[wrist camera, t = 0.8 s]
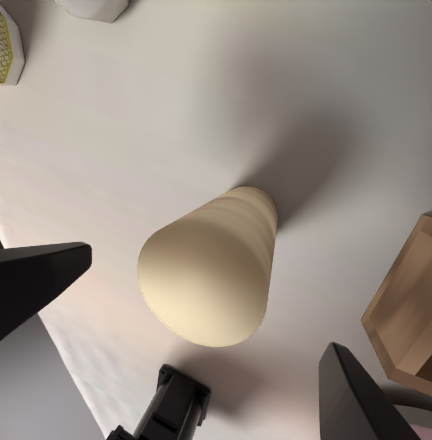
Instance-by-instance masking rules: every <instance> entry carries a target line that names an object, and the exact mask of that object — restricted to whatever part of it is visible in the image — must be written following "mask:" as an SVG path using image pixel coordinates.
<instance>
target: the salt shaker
mask: <svg viewBox="0 0 432 440" xmlns="http://www.w3.org/2000/svg"><path fill="white" fill-rule="evenodd" d="M55 1H56V2H57V3H58V4H59V5H60V6H61V7H62V8H64V9H65V10H66V11H67V12H68V13H69V14H70V15H73V16H75V17H77V18H82V19H88V20H95V21H101V22H107V23H112V22H113V21H114V20H115V19H116V18H117V17H118V16H119V15H120V14H121V13H122V12H123V11H124V10H125V9H126V8H127V7H128V1H129V0H55Z"/></svg>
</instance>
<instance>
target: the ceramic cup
mask: <svg viewBox="0 0 432 440" xmlns="http://www.w3.org/2000/svg"><path fill="white" fill-rule="evenodd" d="M24 63H25V59H24V54H23V48H22V43H21V37H20V32H19V28H18V26H17V25H16V23H15V22H14V21H13V20H12V18H11V17H10V16H9V15H8V13H7V12H6V11H5V9H4V8H3V7H2V6H1V5H0V85H1V86H7V85H16V84H17V82H18V79H19V77H20V74H21V71H22V69H23V66H24Z"/></svg>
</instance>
